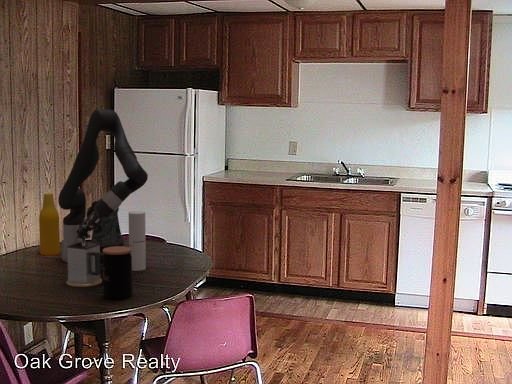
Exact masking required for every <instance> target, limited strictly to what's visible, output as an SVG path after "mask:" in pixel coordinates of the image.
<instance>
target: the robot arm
mask: <svg viewBox="0 0 512 384" xmlns="http://www.w3.org/2000/svg"><path fill="white" fill-rule="evenodd" d="M120 119H121V118H120V117H119V115H118V113H117V112H116V110H113V109H104V108H95V109H94V110H93V111H92V113H90V117H89V120H88V124H87V126H86V130H85V134H84V137H83V140H82V143H81V144H80V147H79V150H78V152H77V155H76V158H75V159H74V162H73V165H72V168H71V170H70V172H69V174H68V177H67V178H66V179H67V180H66V181H65V183H64V184H63V187H62V188H61V190H60V192H59V195H58V202H57V203H58V205H59V208H61V210H67V211H69V210H70V211H69V213H68V214H67V215H65V216H64V217H63V219H62V230H63V231H62V232H63V234H62V235H63V237H62V238H63V239H62V240H61V259H62V261H63V262H65V263H68V255H67V246H69V245H73V244H76V243H80V242H82V239H80V238H77V237H76V236H77V235H78V236H79V237H81V238H83V236H84V235H85V234H86V233H87V232H88V233H89V232H93V229H94V228H95V227H96V226H97V225H98V224H99V223H100V222H101V220H100V219H101V218H102V216H104V217H105V218H109V217H110V216H111V215H112V214H113V213H114V211H115V210H116V209H117V208H118V207H119V208H120V206H121V205H122V204H123V202H124V201H125V200H127V198H128V197H129V196H130V195H131V194H134V192H136V191H137V190H139V189H141V188H142V187H144V185H145V184H146V183H147V181H148V177H149V176H148V172H147V171H146V170H145V169H144V168H143V167H142V165H141V164H140V162H139V161H138V158H137V155H136V153H135V152H134V150H133V149H132V146H131V145H130V143H129V141H128V139H127V135H126V133H125V130H124V128H123V124H122V120H120ZM101 131H102V132H110V133H111V134H112V136H113V138H114V144H113V152H114V154H115V156H116V158H117V160H118V162H119V163H120V165H121V167H122V169H123V172H124V174H125V175H126V177H127V178H128V179H126V180H125V181H122V180H120V181H118V182H116V183H115V185H114V186H112V187H111V189H110V190H108V191H107V192H105V194H104V195H103V196H102V197H101V198H99V200H97V201H98V202H97V203H96V204H95V205H94V207H95V208H96V209H97V211H95V212H91V214H90V215H89V216H88V217H87V207H86V206H87V198H86V197H87V196H86V194H85V191H84V189H82V188H80V187H81V186H82V184H83V183H84V182H85V181H87V179H88V178H89V177H90V176H91V175H92V174H93V173H94V172H95V169H96V167H97V164H98V163H99V160H100V151H99V149H98V148H99V147H98V144H97V142H98V141H97V140H98V138H99V135H100V132H101ZM80 224H86V226H85V227H84V228H83V229H82V230H81V231H80V232H79V225H80Z"/></svg>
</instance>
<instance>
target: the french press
mask: <svg viewBox="0 0 512 384" xmlns="http://www.w3.org/2000/svg"><path fill="white" fill-rule="evenodd" d="M100 254H101V252H100V244H96V243H90V242H86V241H85V246H82V242H80V243H76V244H73V245H69V246H67V255H68V262H67V280H66V285H67V286H68V287H73V288H89V287H90V288H91V287H96V286H98V285H100V284H102V283H103V277H101V270H100Z"/></svg>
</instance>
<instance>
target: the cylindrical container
mask: <svg viewBox="0 0 512 384" xmlns="http://www.w3.org/2000/svg"><path fill="white" fill-rule="evenodd" d="M146 243H147V242H146V212H145V211H140V210H139V211H136V210H135V211H129V212H128V247H129V248H131V249H132V251H131V253H130V254H131V256H132V272H133V271H134V272H135V271H137V272H139V271H145V270H146V269H147V268H146V267H147V262H146V259H147V258H146V257H147V256H146V249H147V248H146V247H147V246H146Z"/></svg>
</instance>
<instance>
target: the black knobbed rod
mask: <svg viewBox="0 0 512 384" xmlns="http://www.w3.org/2000/svg"><path fill="white" fill-rule="evenodd" d="M85 226H86V224H80V225H79V232H80V231H81V230H82V229H83V228H84V227H85ZM76 237H77V238H80V239H82V246H85V242H86V239H89V238H91V234H89V231H88V232H87V233H86V234H85V235H84V236H83V238H81V237H79V236H78V235H77V236H76Z"/></svg>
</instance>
